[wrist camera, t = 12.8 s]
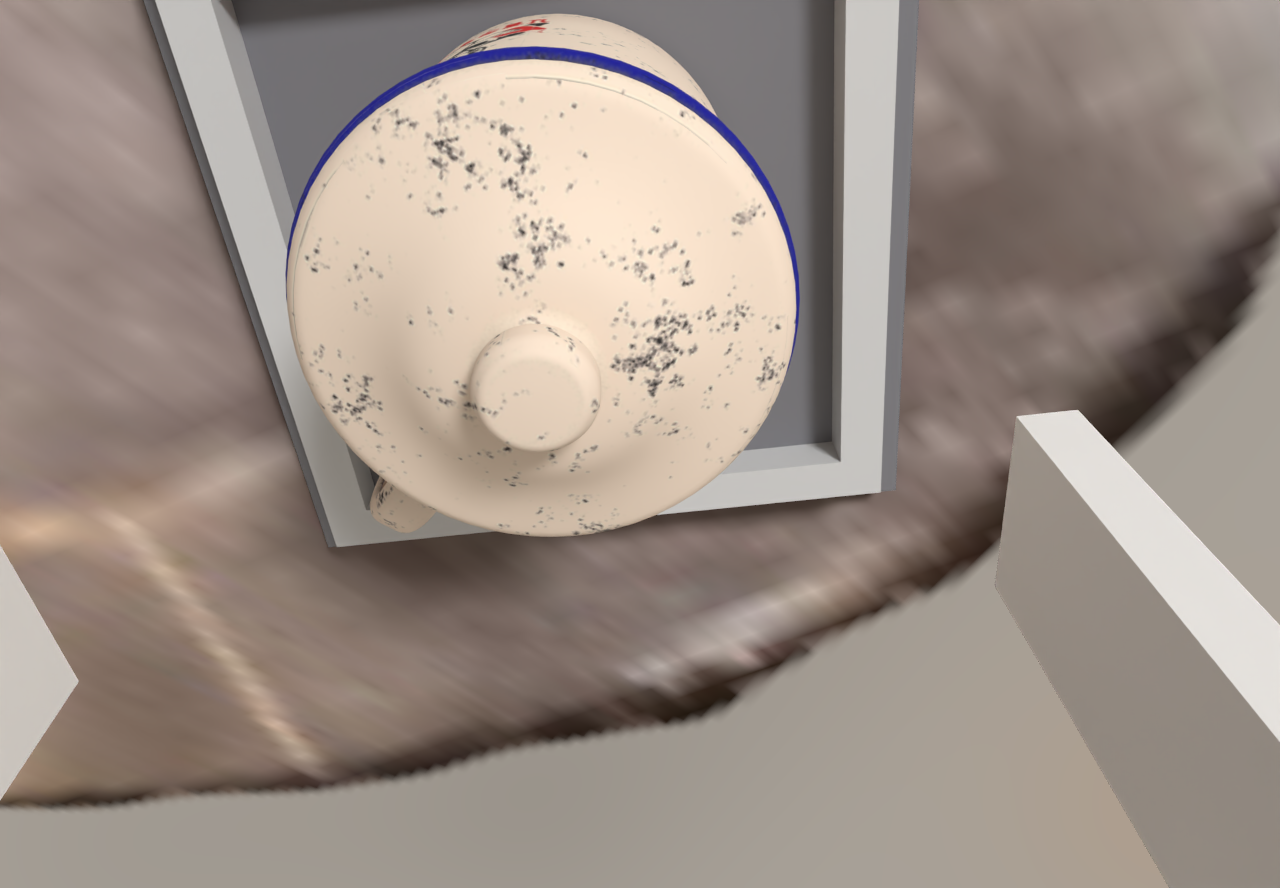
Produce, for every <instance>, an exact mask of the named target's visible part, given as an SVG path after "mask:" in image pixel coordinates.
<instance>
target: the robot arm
mask: <svg viewBox="0 0 1280 888" xmlns="http://www.w3.org/2000/svg"><path fill="white" fill-rule="evenodd" d="M995 587H996V589H997V591H998V593H999V594H1000V596H1001V598H1002V600H1003V601H1004V603H1005V605H1006V606H1007V608H1008V610H1009V612H1010V613H1011V615H1012V617H1013V618H1014V620H1015V622H1016V624H1017V625H1018V627H1019V629H1020V630H1021V632H1022V634H1023V636H1024V638H1025V639H1026V641H1027V643H1028V644H1029V646H1030V648H1031V650H1032V651H1033V653H1034V655H1035V656H1036V658H1037V660H1038V662H1039V664H1040V665H1041V667H1042V669H1043V670H1044V672H1045V674H1046V676H1047V677H1048V679H1049V681H1050V683H1051V684H1052V686H1053V688H1054V689H1055V691H1056V693H1057V695H1058V696H1059V698H1060V700H1061V702H1062V703H1063V705H1064V707H1065V708H1066V710H1067V712H1068V714H1069V715H1070V717H1071V719H1072V720H1073V722H1074V724H1075V726H1076V727H1077V729H1078V731H1079V733H1080V734H1081V736H1082V738H1083V740H1084V741H1085V743H1086V745H1087V747H1088V748H1089V750H1090V752H1091V754H1092V755H1093V757H1094V759H1095V760H1096V762H1097V764H1098V766H1099V767H1100V769H1101V771H1102V772H1103V774H1104V776H1105V778H1106V779H1107V781H1108V783H1109V785H1110V786H1111V788H1112V790H1113V792H1114V793H1115V795H1116V797H1117V798H1118V800H1119V802H1120V804H1121V805H1122V807H1123V809H1124V811H1125V812H1126V814H1127V816H1128V818H1129V819H1130V821H1131V822H1132V824H1133V826H1134V828H1135V830H1136V831H1137V833H1138V835H1139V837H1140V838H1141V840H1142V842H1143V843H1144V845H1145V847H1146V849H1147V850H1148V852H1149V854H1150V856H1151V857H1152V859H1153V861H1154V863H1155V864H1156V866H1157V868H1158V869H1159V871H1160V873H1161V875H1162V876H1163V878H1164V880H1165V881H1166V883H1167V885H1168V887H1169V888H1280V625H1279V624H1278V623H1277V622H1276V621H1275V620H1274V619H1273V618H1272V616H1271V615H1270V614H1269V613H1268V612H1267V611H1266V610H1265V609H1264V608H1263V607H1262V606H1261V605H1260V604H1259V603H1258V602H1257V600H1255V598H1254V597H1253V596H1252V595H1251V594H1250V593H1249V592H1248V591H1247V590H1246V589H1245V588H1244V587H1243V586H1242V584H1241V583H1239V581H1238V580H1237V579H1236V578H1235V577H1234V576H1233V575H1232V574H1231V573H1230V572H1229V571H1228V570H1227V569H1226V568H1225V566H1224V565H1223V564H1222V563H1221V562H1220V561H1219V560H1218V559H1217V558H1216V557H1215V556H1214V555H1213V554H1212V553H1211V551H1210V550H1209V549H1208V548H1207V547H1206V546H1205V545H1204V544H1203V543H1202V542H1201V541H1200V540H1199V539H1198V538H1197V537H1196V536H1195V534H1194V533H1192V531H1191V530H1190V529H1189V528H1188V527H1187V526H1186V525H1185V524H1184V523H1183V522H1182V521H1181V520H1180V518H1179V517H1177V515H1176V514H1175V513H1174V512H1173V511H1172V510H1171V509H1170V508H1169V507H1168V506H1167V505H1166V504H1165V502H1163V500H1162V499H1161V498H1160V497H1159V496H1158V495H1157V494H1156V493H1155V492H1154V491H1153V490H1152V489H1151V488H1150V486H1148V485H1147V483H1146V482H1145V481H1144V480H1143V479H1142V478H1141V477H1140V476H1139V475H1138V474H1137V473H1136V472H1135V471H1134V469H1133V468H1132V467H1131V466H1130V465H1129V464H1128V463H1127V462H1126V461H1125V460H1124V459H1123V458H1122V457H1121V456H1120V455H1119V453H1118V452H1117V451H1116V450H1115V449H1114V448H1113V447H1112V446H1111V445H1110V444H1109V443H1108V442H1107V441H1106V440H1105V439H1104V437H1103V436H1102V435H1101V434H1100V433H1099V432H1098V431H1097V430H1096V429H1095V428H1094V427H1093V426H1092V425H1091V424H1090V423H1089V422H1088V420H1087V419H1086V418H1085V417H1084V416H1083V415H1082V414H1081V413H1080V412H1079V411H1078V410H1072V411H1063V412H1053V413H1044V414H1035V415H1025V416H1016V424H1015V432H1014V440H1013V448H1012V455H1011V463H1010V471H1009V479H1008V487H1007V495H1006V502H1005V510H1004V518H1003V526H1002V534H1001V542H1000V549H999V557H998V565H997V574H996V581H995ZM78 682H79V681H78V679H77V677H76V676H75V674H74V672H73V671H72V669H71V667H70V665H69V664H68V662H67V660H66V658H65V657H64V655H63V653H62V651H61V650H60V648H59V646H58V644H57V643H56V641H55V639H54V638H53V636H52V634H51V632H50V631H49V629H48V627H47V625H46V624H45V622H44V620H43V618H42V617H41V615H40V613H39V612H38V610H37V608H36V606H35V605H34V603H33V601H32V599H31V598H30V596H29V594H28V592H27V591H26V589H25V587H24V585H23V584H22V582H21V580H20V579H19V577H18V575H17V573H16V572H15V570H14V568H13V566H12V565H11V563H10V561H9V559H8V558H7V556H6V554H5V553H4V551H3V549H2V547H1V546H0V800H1V798H2V797H3V795H4V794H5V792H6V791H7V789H8V788H9V786H10V785H11V783H12V782H13V780H14V779H15V777H16V776H17V774H18V773H19V771H20V770H21V768H22V767H23V765H24V763H25V762H26V760H27V759H28V757H29V756H30V754H31V753H32V751H33V750H34V748H35V747H36V745H37V744H38V742H39V741H40V739H41V738H42V736H43V735H44V733H45V732H46V730H47V729H48V727H49V726H50V724H51V723H52V721H53V720H54V718H55V717H56V715H57V714H58V712H59V711H60V709H61V708H62V706H63V705H64V703H65V702H66V700H67V698H68V697H69V695H70V694H71V692H72V691H73V689H74V688H75V686H76V685H77V683H78Z"/></svg>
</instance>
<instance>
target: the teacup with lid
mask: <svg viewBox="0 0 1280 888" xmlns="http://www.w3.org/2000/svg"><path fill="white" fill-rule="evenodd" d="M285 277H286V300H287V309H288V316H289V323H290V331H291V335H292V339H293V343H294V347H295V351H296V355H297V357H298V360H299V363H300V366H301V369H302V371H303V374H304V377H305V379H306V381H307V383H308V385H309V387H310V389H311V392H312V394H313V396H314V398H315V399H316V401H317V403H318V404H319V406H320V408H321V409H322V411H323V413H324V414H325V416H326V418H327V419H328V420H329V422H330V423H331V424H332V426H333V427H334V429H335V430H336V431H337V433H338V434H339V436H340V437H341V438H342V439H343V440H344V441H345V442H346V444H347V445H348V446H349V447H350V448H351V449H352V451H353V452H354V453H355V454H356V455H357V456H358V457H359V458H360V459H361V460H362V461H364V462H365V463H366V464H367V465H368V466H369V467H370V468H371V469H372V470H373V471H374V472H375V473H377V474H378V475H379V479H378V481H377V483H376V486H375V488H374V491H373V494H372V497H371V501H370V510H371V514H372V516H373V517H374V518H375V519H376V520H377V521H378V522H380V523H381V524H383V525H385V526H387V527H389V528H391V529H393V530H395V531H398V532H401V533H410V532H413V531H416V530H417V529H419V528H420V527H422V526H423V525H424V524H425V523H426V522H428V521H429V519H430V518H431V517H432V516H433V515H434V514H435V512H436V511H437V512H439V513H441V514H443V515H445V516H448V517H450V518H453V519H456V520H459V521H461V522H464V523H467V524H470V525H474V526H477V527H481V528H484V529H488V530H493V531H498V532H503V533H508V534H516V535H525V536H541V537H561V536H577V535H585V534H593V533H598V532H603V531H608V530H613V529H617V528H620V527H624V526H627V525H630V524H634V523H637V522H639V521H642V520H644V519H647V518H650V517H652V516H655V515H657V514H659V513H661V512H663V511H665V510H667V509H669V508H671V507H673V506H675V505H677V504H678V503H680V502H682V501H683V500H685V499H687V498H688V497H690V496H692V495H693V494H695V493H696V492H697V491H699V490H700V489H702V488H703V487H704V486H706V485H707V484H708V483H710V482H711V481H712V480H713V479H715V478H716V477H717V476H718V475H719V474H720V473H721V472H723V471H724V470H725V469H726V468H727V467H728V466H729V465H730V464H731V463H732V462H733V461H734V460H735V459H736V458H737V457H738V456H739V454H740V453H741V452H742V451H743V450H744V449H745V448H746V446H747V445H748V444H749V442H750V441H751V440H752V439H753V437H754V436H755V435H756V433H757V432H758V430H759V429H760V427H761V425H762V424H763V422H764V421H765V419H766V418H767V416H768V414H769V412H770V410H771V408H772V406H773V404H774V402H775V400H776V398H777V396H778V394H779V391H780V389H781V387H782V384H783V381H784V379H785V376H786V373H787V371H788V368H789V365H790V361H791V358H792V354H793V350H794V346H795V341H796V335H797V329H798V323H799V306H800V291H799V274H798V267H797V261H796V254H795V249H794V245H793V241H792V238H791V234H790V230H789V226H788V224H787V221H786V218H785V216H784V213H783V211H782V208H781V205H780V203H779V201H778V199H777V197H776V195H775V193H774V191H773V189H772V187H771V185H770V183H769V181H768V179H767V178H766V176H765V175H764V173H763V171H762V170H761V168H760V167H759V165H758V164H757V162H756V161H755V159H754V158H753V156H752V155H751V154H750V153H749V151H748V150H747V149H746V148H745V146H744V145H743V144H742V143H741V141H740V140H739V139H738V138H737V136H736V135H735V134H734V133H733V132H732V131H731V130H730V129H729V128H728V127H727V126H726V125H725V124H724V123H723V122H722V121H721V120H720V119H719V118H718V117H717V115H716V113H715V111H714V109H713V108H712V106H711V104H710V102H709V100H708V99H707V97H706V96H705V94H704V93H703V91H702V90H701V88H700V87H699V86H698V84H697V83H696V82H695V81H694V79H693V78H692V77H691V76H690V74H689V73H688V72H687V71H686V70H685V69H684V68H683V67H682V66H681V65H680V64H679V63H678V62H677V61H676V60H675V59H674V58H672V57H671V56H670V55H669V54H668V53H666V52H665V51H664V50H663V49H662V48H660V47H659V46H657V45H656V44H654V43H653V42H651V41H650V40H648V39H647V38H645V37H643V36H641V35H639V34H637V33H635V32H633V31H631V30H629V29H627V28H624V27H622V26H619V25H617V24H614V23H611V22H608V21H604V20H601V19H597V18H592V17H587V16H581V15H571V14H541V15H534V16H527V17H522V18H518V19H514V20H510V21H507V22H504V23H501V24H498V25H496V26H493V27H491V28H488V29H486V30H484V31H482V32H480V33H479V34H477V35H475V36H473V37H471V38H470V39H468V40H467V41H465V42H464V43H462V44H461V45H459V46H458V47H457V48H455V49H454V50H453V51H452V52H451V53H449V54H448V55H447V56H446V57H445V58H443V59H442V60H441V61H440V62H439V63H438V64H436V65H434V66H431V67H429V68H426V69H424V70H422V71H420V72H418V73H416V74H414V75H412V76H410V77H408V78H406V79H404V80H403V81H401V82H399V83H398V84H396V85H395V86H393V87H392V88H390V89H389V90H387V91H386V92H384V93H383V94H381V95H380V96H378V97H377V98H376V99H374V100H373V101H372V102H371V103H370V104H368V105H367V106H366V107H365V108H364V109H363V110H361V111H360V112H359V113H358V114H357V115H356V116H355V117H354V118H353V119H352V120H351V121H350V122H349V123H348V124H347V125H346V126H345V127H344V128H343V130H342V131H341V132H340V133H339V134H338V135H337V136H336V138H335V139H334V140H333V142H332V143H331V144H330V146H329V147H328V148H327V150H326V151H325V152H324V154H323V155H322V157H321V159H320V160H319V162H318V164H317V166H316V167H315V169H314V171H313V172H312V174H311V176H310V178H309V180H308V182H307V185H306V187H305V189H304V191H303V194H302V196H301V198H300V201H299V204H298V207H297V210H296V213H295V217H294V220H293V223H292V227H291V232H290V238H289V243H288V248H287V259H286V272H285Z"/></svg>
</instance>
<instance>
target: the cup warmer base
mask: <svg viewBox="0 0 1280 888" xmlns="http://www.w3.org/2000/svg"><path fill="white" fill-rule="evenodd" d="M144 3H145V6H146V9H147V12H148V15H149V18H150V21H151V24H152V27H153V30H154V33H155V36H156V39H157V42H158V45H159V48H160V51H161V54H162V57H163V60H164V63H165V66H166V68H167V71H168V74H169V77H170V80H171V83H172V86H173V89H174V92H175V95H176V98H177V101H178V104H179V107H180V110H181V113H182V116H183V119H184V122H185V125H186V128H187V131H188V134H189V136H190V139H191V142H192V145H193V148H194V151H195V154H196V157H197V160H198V163H199V166H200V169H201V172H202V175H203V178H204V181H205V184H206V187H207V190H208V193H209V196H210V199H211V202H212V204H213V207H214V210H215V213H216V216H217V219H218V222H219V225H220V228H221V231H222V234H223V237H224V240H225V243H226V246H227V249H228V252H229V255H230V258H231V261H232V264H233V267H234V270H235V272H236V275H237V278H238V281H239V284H240V287H241V290H242V293H243V296H244V299H245V302H246V305H247V308H248V311H249V314H250V317H251V320H252V323H253V326H254V329H255V332H256V335H257V337H258V340H259V343H260V346H261V349H262V352H263V355H264V358H265V361H266V364H267V367H268V370H269V373H270V376H271V379H272V382H273V385H274V388H275V391H276V394H277V397H278V400H279V403H280V405H281V408H282V411H283V414H284V417H285V420H286V423H287V426H288V429H289V432H290V435H291V438H292V441H293V444H294V447H295V450H296V453H297V456H298V459H299V462H300V465H301V468H302V471H303V473H304V476H305V479H306V482H307V485H308V488H309V491H310V494H311V497H312V500H313V503H314V506H315V509H316V512H317V515H318V518H319V521H320V524H321V527H322V530H323V533H324V536H325V539H326V541H327V544H328V547H336V546H337V547H344V546H354V545H363V544H373V543H383V542H393V541H403V540H413V539H423V538H433V537H443V536H453V535H463V534H473V533H483V532H492V531H493V530H488V529H484V528H481V527H477V526H474V525H470V524H467V523H464V522H461V521H459V520H456V519H453V518H450V517H448V516H445V515H443V514H441V513H439V512H437V511H436V512H435V514H434V515H433V516H432V517H431V518H430V519H429V521H428V522H426V523H425V524H424V525H423V526H422V527H420V528H419V529H417V530H416V531H413V532H410V533H401V532H398V531H395V530H393V529H391V528H389V527H387V526H385V525H383V524H381V523H380V522H378V521H377V520H376V519H375V518H374V517H373V516H372V514H371V510H370V501H371V497H372V494H373V491H374V488H375V486H376V483H377V481H378V479H379V475H378V474H377V473H375V472H374V471H373V470H372V469H371V468H370V467H369V466H368V465H367V464H366V463H365V462H364V461H362V460H361V459H360V458H359V457H358V456H357V455H356V454H355V453H354V452H353V451H352V449H351V448H350V447H349V446H348V445H347V444H346V442H345V441H344V440H343V439H342V438H341V437H340V436H339V434H338V433H337V431H336V430H335V429H334V427H333V426H332V424H331V423H330V422H329V420H328V419H327V418H326V416H325V414H324V413H323V411H322V409H321V408H320V406H319V404H318V403H317V401H316V399H315V398H314V396H313V394H312V392H311V389H310V387H309V385H308V383H307V381H306V379H305V377H304V374H303V371H302V369H301V366H300V363H299V360H298V357H297V355H296V351H295V347H294V343H293V339H292V335H291V331H290V323H289V316H288V309H287V300H286V277H285V272H286V259H287V248H288V243H289V238H290V232H291V227H292V223H293V220H294V217H295V213H296V210H297V207H298V204H299V201H300V198H301V196H302V194H303V191H304V189H305V187H306V185H307V182H308V180H309V178H310V176H311V174H312V172H313V171H314V169H315V167H316V166H317V164H318V162H319V160H320V159H321V157H322V155H323V154H324V152H325V151H326V150H327V148H328V147H329V146H330V144H331V143H332V142H333V140H334V139H335V138H336V136H337V135H338V134H339V133H340V132H341V131H342V130H343V128H344V127H345V126H346V125H347V124H348V123H349V122H350V121H351V120H352V119H353V118H354V117H355V116H356V115H357V114H358V113H359V112H360V111H361V110H363V109H364V108H365V107H366V106H367V105H368V104H370V103H371V102H372V101H373V100H374V99H376V98H377V97H378V96H380V95H381V94H383V93H384V92H386V91H387V90H389V89H390V88H392V87H393V86H395V85H396V84H398V83H399V82H401V81H403V80H404V79H406V78H408V77H410V76H412V75H414V74H416V73H418V72H420V71H422V70H424V69H426V68H429V67H431V66H434V65H436V64H438V63H439V62H440V61H441V60H442V59H443V58H445V57H446V56H447V55H448V54H449V53H451V52H452V51H453V50H454V49H455V48H457V47H458V46H459V45H461V44H462V43H464V42H465V41H467V40H468V39H470V38H471V37H473V36H475V35H477V34H479V33H480V32H482V31H484V30H486V29H488V28H491V27H493V26H496V25H498V24H501V23H504V22H507V21H510V20H514V19H518V18H522V17H527V16H534V15H541V14H571V15H581V16H587V17H592V18H597V19H601V20H604V21H608V22H611V23H614V24H617V25H619V26H622V27H624V28H627V29H629V30H631V31H633V32H635V33H637V34H639V35H641V36H643V37H645V38H647V39H648V40H650V41H651V42H653V43H654V44H656V45H657V46H659V47H660V48H662V49H663V50H664V51H665V52H666V53H668V54H669V55H670V56H671V57H672V58H674V59H675V60H676V61H677V62H678V63H679V64H680V65H681V66H682V67H683V68H684V69H685V70H686V71H687V72H688V73H689V74H690V76H691V77H692V78H693V79H694V81H695V82H696V83H697V84H698V86H699V87H700V88H701V90H702V91H703V93H704V94H705V96H706V97H707V99H708V100H709V102H710V104H711V106H712V108H713V109H714V111H715V113H716V115H717V117H718V118H719V119H720V120H721V121H722V122H723V123H724V124H725V125H726V126H727V127H728V128H729V129H730V130H731V131H732V132H733V133H734V134H735V135H736V136H737V138H738V139H739V140H740V141H741V143H742V144H743V145H744V146H745V148H746V149H747V150H748V151H749V153H750V154H751V155H752V156H753V158H754V159H755V161H756V162H757V164H758V165H759V167H760V168H761V170H762V171H763V173H764V175H765V176H766V178H767V179H768V181H769V183H770V185H771V187H772V189H773V191H774V193H775V195H776V197H777V199H778V201H779V203H780V205H781V208H782V211H783V213H784V216H785V218H786V221H787V224H788V226H789V230H790V234H791V238H792V241H793V245H794V249H795V254H796V261H797V267H798V274H799V291H800V306H799V323H798V329H797V335H796V341H795V346H794V350H793V354H792V358H791V361H790V365H789V368H788V371H787V373H786V376H785V379H784V381H783V384H782V387H781V389H780V391H779V394H778V396H777V398H776V400H775V402H774V404H773V406H772V408H771V410H770V412H769V414H768V416H767V418H766V419H765V421H764V422H763V424H762V425H761V427H760V429H759V430H758V432H757V433H756V435H755V436H754V437H753V439H752V440H751V441H750V442H749V444H748V445H747V446H746V448H745V449H744V450H743V451H742V452H741V453H740V454H739V456H738V457H737V458H736V459H735V460H734V461H733V462H732V463H731V464H730V465H729V466H728V467H727V468H726V469H725V470H724V471H723V472H721V473H720V474H719V475H718V476H717V477H716V478H715V479H713V480H712V481H711V482H710V483H708V484H707V485H706V486H704V487H703V488H702V489H700V490H699V491H697V492H696V493H695V494H693V495H692V496H690V497H688V498H687V499H685V500H683V501H682V502H680V503H678V504H677V505H675V506H673V507H671V508H669V509H667V510H665V511H663V512H661V513H659V514H657V515H661V514H671V513H681V512H691V511H701V510H711V509H721V508H730V507H740V506H750V505H760V504H770V503H780V502H790V501H800V500H810V499H820V498H830V497H840V496H849V495H859V494H869V493H879V492H881V491H891V490H896V472H897V451H898V430H899V409H900V388H901V367H902V346H903V325H904V304H905V283H906V262H907V241H908V219H909V198H910V177H911V156H912V135H913V114H914V93H915V72H916V51H917V30H918V9H919V0H144Z"/></svg>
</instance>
